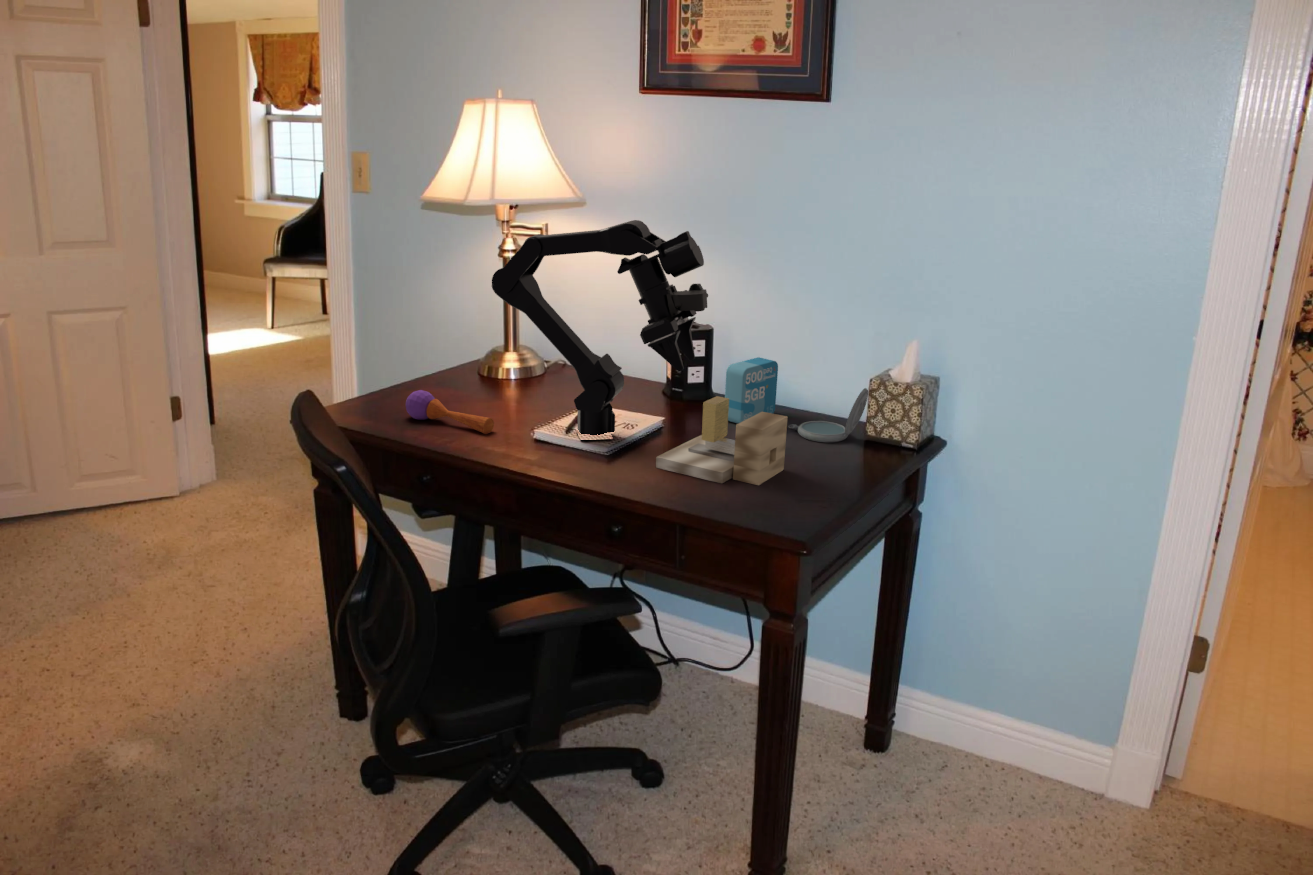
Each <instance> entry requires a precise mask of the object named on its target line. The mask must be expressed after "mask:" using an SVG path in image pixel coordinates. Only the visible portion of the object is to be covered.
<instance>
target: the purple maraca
mask: <svg viewBox="0 0 1313 875" xmlns="http://www.w3.org/2000/svg"><path fill="white" fill-rule="evenodd" d="M405 409H406V412H407V413H408V415H409V416H410V417H411V418H412V419H414V420H417V421H425V420H428V419H429V420H435V419H440V418H443V417H448V418H450V419H452V420H454V421H457V422H458V423H460V424H463V425H465V426H467V427H469V428H471V429H473V430H475V431H477V432H480V433H482V434H484V435H488V434H489V433H490V434H491V433H492V432H493V430H494V426H495V422H494V419H493V418H492V417H486V416H481V415H475V414H470V413H463V412H458V411H453V410H448V409H447V407H445V405H444V404H443V403H442V402H441V401H440V400H439V399H438V398H435V396H434V395H433V394H432V393H430V391H426V390H423V389H419V390H414V391H413V392H411V393H410V394H409V395H408V396H407V397H406V401H405Z"/></svg>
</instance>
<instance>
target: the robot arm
mask: <svg viewBox="0 0 1313 875" xmlns="http://www.w3.org/2000/svg"><path fill="white" fill-rule="evenodd" d="M595 252H597V253H604V254H605V253H606V254H610V255H615V256H616V255H619V256H627V257H623V258H621V259H620V264H619V268H618V270H617V274H619V275H621V274H623V273H625V272H629V273H630V275H631V278H632V280H633V283H634V285H635V287H636V290H637V292H638V295H639V296H640V298H639V299H638V302H639V304H640V306H642V305H643V306H644V307H645V310H646V313H647V315H648V317H649V319H648V320H647V324H646V325H644V327H643V328H642V329H641V331H640V334H639V336H640V338H641V340H642V343H643V344H644V345H647V347H649V348H651V349H652V350H653V351H654V352H656V353H657V354H658V355H659V356H660V357H661V358H663V359H664V360H665V361H666V362H667V363H668V364H670V366H671V367H672V368H674V369H675V370H676V371H677V372H682V371H684V369H685V367H684V364H683V360H682V359H683V358H682V356H681V352H682V354H683V355H684V356H685V357H686V358H687V359H688V360H689V361H692V360H694V359H696V355H695V349H694V343H693V342H694V341H693V337H692V334H693V333H692V327H693V325H694V323H695V321H696V316H697V312H703V311H705V309H707V308H708V297H709V294H708V292H707V289H704V288H703V286H702V284H701V283H692V284H690V286H689V289H688V290H687V289H684V290H680V291H679V290H677V288H676V285H674V284H672V283H671V284H670V282H669V281H668V278H667V276H666V275H668V276H669V275H671V276H672V277H674V278H677V277H679V276H682V275H684V274H687V273H689V272H691V271H694V270H696V269H699V268H701V267H703V266H704V265H705V261H704V256H703V253H702V249H701V247H700V245H698V244H697V242H696V240H695V239H694V238H693V236H691V233H690V231H689V230H686V231H684V232H681V233H680V234H678V235H677V236H676V237H675V236H674V238H671V239H669V240H665V239H663V238H661V237H659V236H657V235H656V234H654V233H653V232H651V230H650V229H649V227H648V225H647V224H645V223H644V222H643V221H642V220H639V219H634V220H628V221H626V222H622V223H619V224H615V225H612V226H609V227H605V228H601V229H598V230H597V229H595V230H585V231H575V232H565V233H564V232H562V233H554V234H552V233H551V234H541V233H540V234H539V233H538V234H535V235H533V236H528V237H527V238H526V239H525V240H524V242H523V244H522V245H521V247H519V249H518V250H517V251H516V252H515V254H514V255H513V256H512V257H511V258H510V259H509V260H508V261H507V263H506V264H505V265H504V266H503V267H501V268H499V269H497V270H496V271H495V272H494V273H493V275H492V277H491V289H492V291H493V293H494V294H495V295H496V296H498V297H499V298H500V299H502V300H503V301H504V303H506V304H507V305H509V306H510V307H512V308H514V309H516V310H518V311H520V312H522V313H524V314H525V316H527V318H528V319H529V320H530V321H531V322H532V324H534V325H535V326H536V328H537V329H538V330H539V331H540V332H541V333H542V334H543V335H544V336H545V337H546V339H547V340H548V341H549V342H550V343H551V344H552V346H554V348H556V350H557V351H558V352H559V353H560V354H561V356H563V358H564V359H566V361H567V362H568V363H569V364H570V366H572V368H573V369H574V371H575V373H576V375H577V378H578V382H579V384H580V386H581V387H582V389H583V391H582V392H581V393H580V394H578V395H577V396H576V398H574V399H573V402H574V405H575V409H576V410H577V429H578V430H579V432H580V433H581V434H590V435H597V434H598V435H600V434H604V433H607V432H614V431H616V414H615V412H614V411H613V405H612V404H611V403H612V402H613V401H614V399H615V397H616V396H617V395H619V393H621V391H622V390H623V389H624V386H625V377H624V375H623V372H622V371H621V370H623V369H622V367H621V366H619V365H617V363H615V361H614V360H613V358H612V357H611V355H610V354H609V353H605V354H604V355H602V356H600V355H598V354H596V353H594V352H593V351H592V350H591V349H590V348H589V347H588V346H587V344H585V342H584V341H583V340H582V339H581V338H580V337H579V336H578V334H576V332H575V331H574V330H573V328H571V327H570V325H568V324H567V322H566V321H565V320H564V319H563V318H562V317H561V316H560V315H559V314H558V312H557V311H556V310H555V309H554V308H553V307H552V306H551V305H550V304H549V302H548V301H547V300H546V299H545V298H544V296H543V294H542V291H541V288H540V285H539V283H538V281H537V280H536V278H535V276H534V274H535V273H536V272H537V270H538V268H540V267H539V266H540V265H541V263H542V261H543V260H544V257H547V256H548V257H549V256H550V257H551V256H560V255H571V254H572V255H573V254H582V253H583V254H584V253H595ZM654 252H658V253H657V254H655V255H652V256H650V257H648V256H647V255H649V254H652V253H654ZM638 253H639V254H640V255H637V256H635V257H633V258H631V259H630V258H628V256H634V255H636V254H638ZM689 317H690V318H689ZM680 351H681V352H680Z"/></svg>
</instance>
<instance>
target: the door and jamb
mask: <svg viewBox="0 0 1313 875" xmlns="http://www.w3.org/2000/svg"><path fill="white" fill-rule="evenodd" d="M788 418H789V417H788V416H787V415H782V414H776V413H773V414H772V413H767V412H760V413H758V414H756V415H754V416H752V417H750V418H748V419H746V420H744V421H742V422H740V423H739V424H737V423H736V424H735V435H734V436H735V439H734V440H735V453H734V455H733V454H728V453H724V452H719V451H715V450H711V449H706V448H705V440H702V434H700V435H698V436H696V437H694V438H692V439H690V440H688V441H686V442H683V443H682V444H680V445H678V446H676V447H673V448H671V449H670V450H667V451H666V452H664V453H662V454H660V455H657V456H656V457H655V468H656V469H661V470H664V471H669V472H673V473H677V474H681V475H685V476H690V477H694V478H698V479H702V480H706V481H709V482H713V483H714V482H715V483H718V484H723V483H725V482H727V481H729V480H731V479H732V480H735V481H738V482H742V483H747V484H750V485H751V484H752V485H755V486H760V485H762V484H763V483H765V482H766V481H768V480H770V479H771V478H773V477H775V476H776V475H777V474H779V473H781V472H782V471H783V470H784V469H785V459H786V458H785V457H786V456H785V455H786V445H787V444H786V443H787V441H786V440H787V431H788V430H787V428H788Z"/></svg>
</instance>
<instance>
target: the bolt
mask: <svg viewBox="0 0 1313 875" xmlns="http://www.w3.org/2000/svg"><path fill="white" fill-rule="evenodd" d="M702 403H703V404H702V419H701V420H702V424H701V427H702V428H701V435H702V440H705V448H706V449H711V450H715V451H719V452H724V453H728V454H733V455H734V453H735V439H730V438H726V437H727V436H728V427H729V426H728V425H729V424H728V423H729V421H728V412H729V398H725V396H724V397H723V396H718V395H717V396H714V397H712V398H710V399H709V398H708V399H707V400H705V401H703V402H702Z"/></svg>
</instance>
